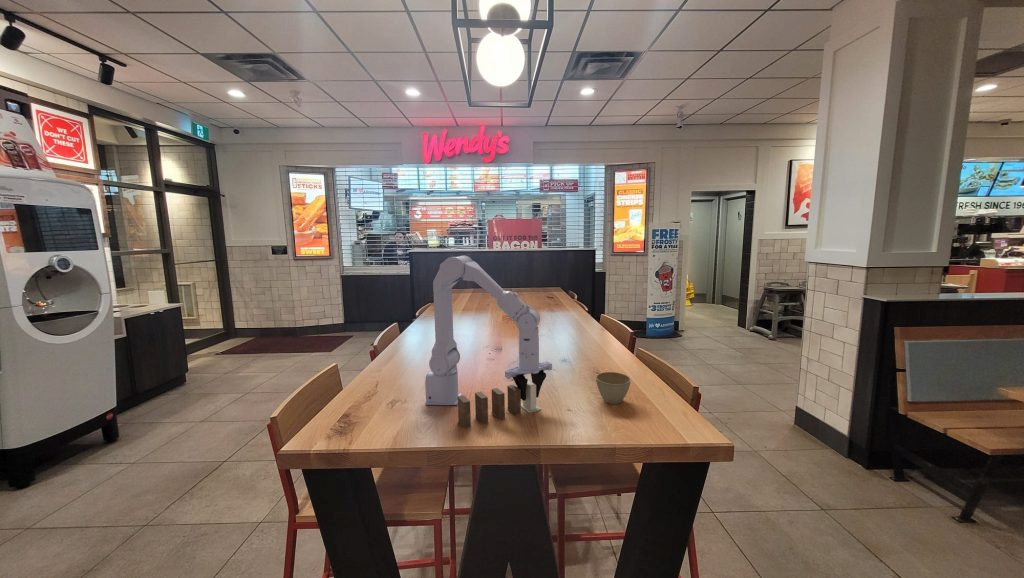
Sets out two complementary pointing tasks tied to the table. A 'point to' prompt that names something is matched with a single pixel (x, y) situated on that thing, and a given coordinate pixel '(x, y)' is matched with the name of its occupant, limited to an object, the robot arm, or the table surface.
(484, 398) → the domino
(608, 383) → the flower pot
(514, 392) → the domino
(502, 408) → the domino
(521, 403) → the pad
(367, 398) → the table surface
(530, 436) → the table surface
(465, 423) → the domino
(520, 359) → the robot arm
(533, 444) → the table surface
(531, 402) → the domino
